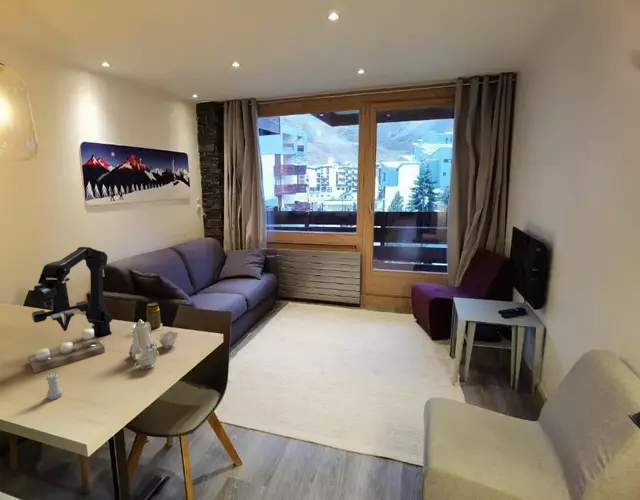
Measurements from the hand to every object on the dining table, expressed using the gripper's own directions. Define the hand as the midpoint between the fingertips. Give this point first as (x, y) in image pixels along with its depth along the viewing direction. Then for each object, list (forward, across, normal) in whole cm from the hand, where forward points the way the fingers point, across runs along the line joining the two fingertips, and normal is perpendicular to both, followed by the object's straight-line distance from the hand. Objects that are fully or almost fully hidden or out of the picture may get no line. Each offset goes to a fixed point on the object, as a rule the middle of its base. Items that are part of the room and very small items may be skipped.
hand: (65, 330), depth 148 cm
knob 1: (+9, +8, +1) cm, 12 cm away
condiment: (+12, -36, -5) cm, 39 cm away
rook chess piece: (+11, +10, +30) cm, 33 cm away
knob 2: (+6, -8, 0) cm, 9 cm away
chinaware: (+12, -24, +23) cm, 36 cm away
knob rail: (+12, 0, 0) cm, 12 cm away
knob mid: (+9, 0, 0) cm, 9 cm away
